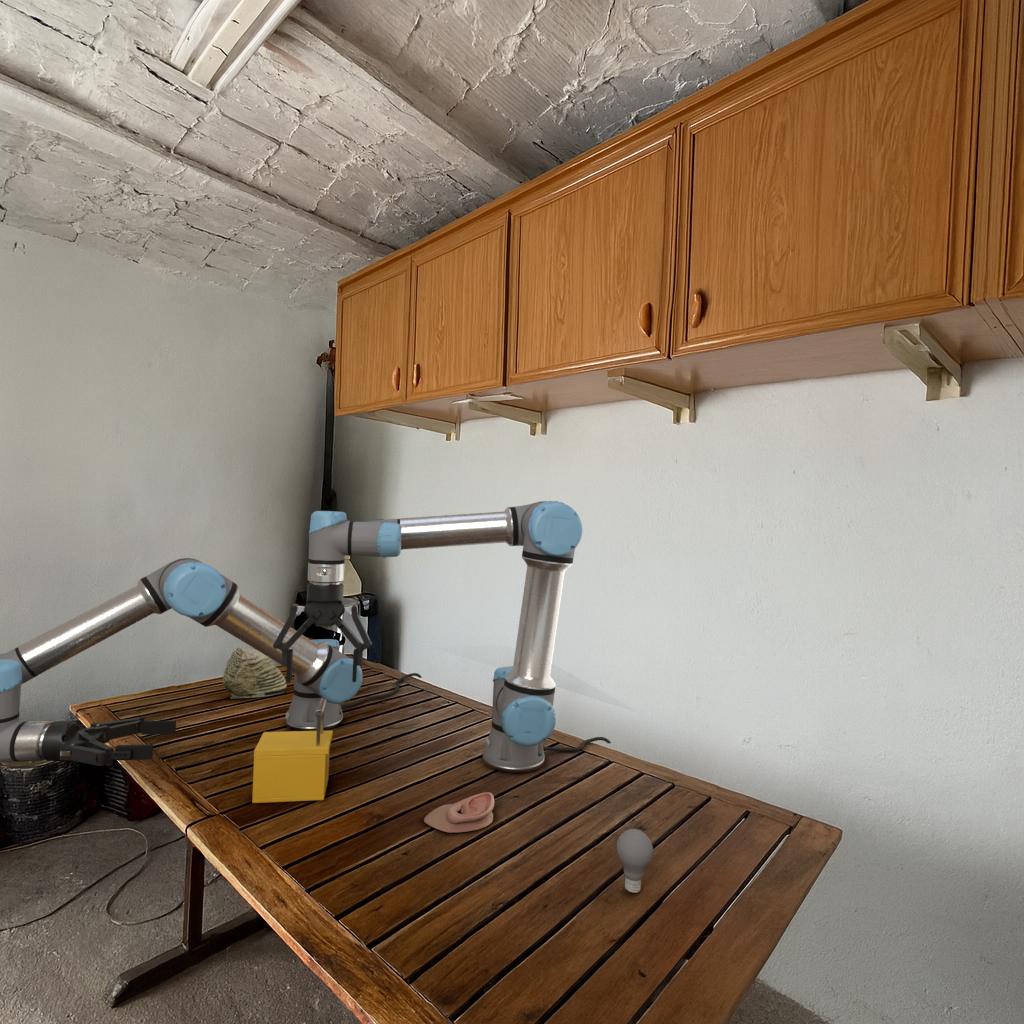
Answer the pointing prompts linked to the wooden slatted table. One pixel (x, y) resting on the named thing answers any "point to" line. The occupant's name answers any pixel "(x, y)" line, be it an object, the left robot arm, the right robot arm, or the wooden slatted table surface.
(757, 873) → the wooden slatted table surface
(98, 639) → the left robot arm
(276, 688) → the fossil
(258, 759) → the chest
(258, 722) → the wooden slatted table surface
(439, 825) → the anatomical model
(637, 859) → the light bulb
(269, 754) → the lid
